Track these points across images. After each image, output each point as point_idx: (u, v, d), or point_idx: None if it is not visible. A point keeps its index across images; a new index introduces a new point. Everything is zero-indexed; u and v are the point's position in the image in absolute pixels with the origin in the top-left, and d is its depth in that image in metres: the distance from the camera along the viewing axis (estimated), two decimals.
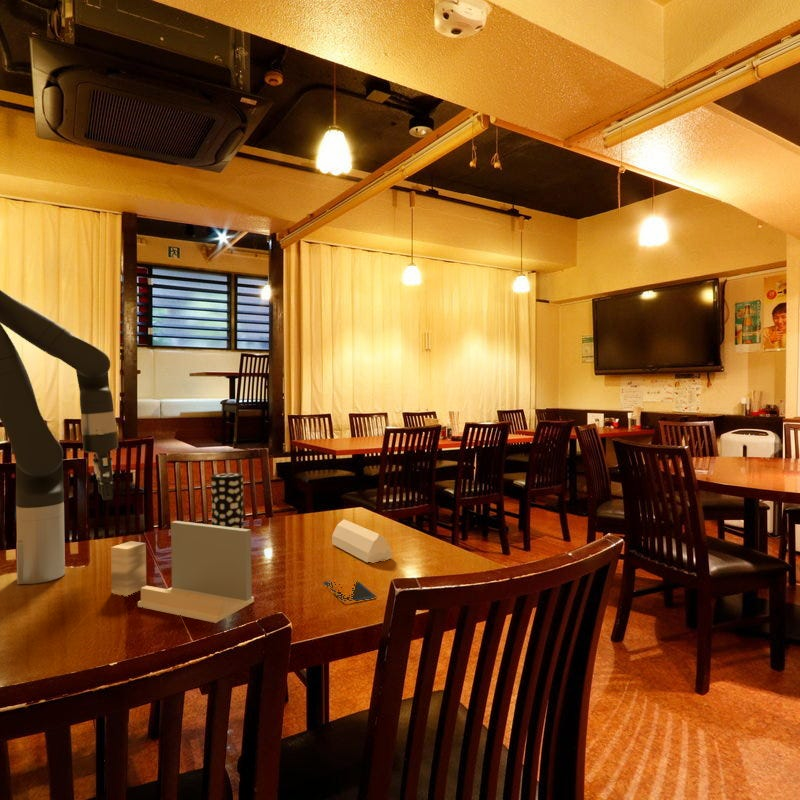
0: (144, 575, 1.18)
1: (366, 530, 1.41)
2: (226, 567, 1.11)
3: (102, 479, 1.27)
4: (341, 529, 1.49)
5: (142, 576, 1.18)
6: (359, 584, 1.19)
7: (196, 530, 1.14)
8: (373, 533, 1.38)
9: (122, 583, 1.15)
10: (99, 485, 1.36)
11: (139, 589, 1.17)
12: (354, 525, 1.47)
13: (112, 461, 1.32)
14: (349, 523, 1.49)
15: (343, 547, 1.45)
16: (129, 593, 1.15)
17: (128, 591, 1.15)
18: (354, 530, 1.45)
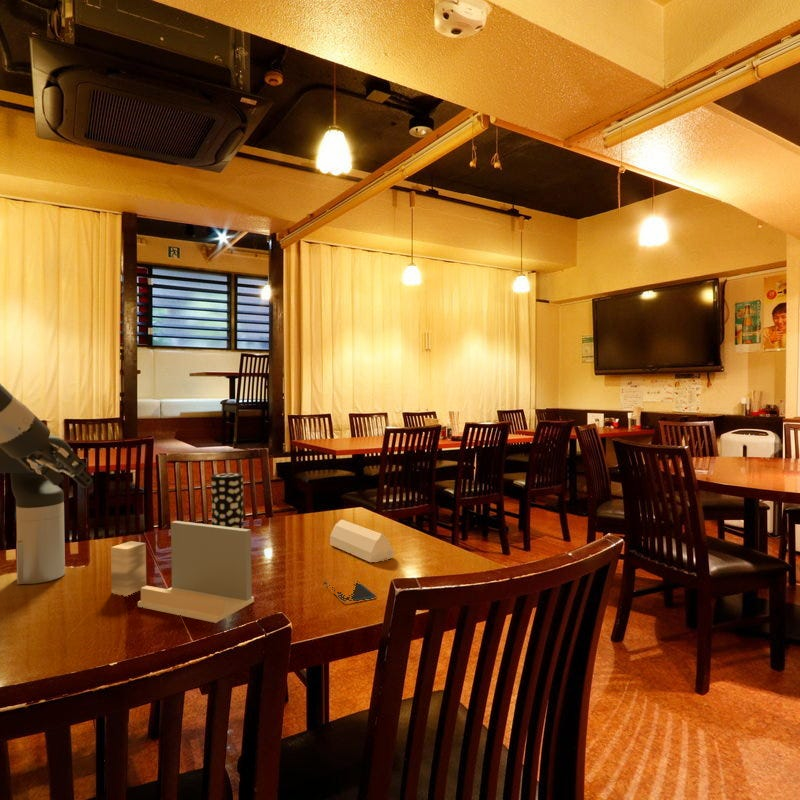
0: (144, 575, 1.18)
1: (367, 530, 1.41)
2: (226, 567, 1.11)
3: (76, 471, 0.99)
4: (340, 529, 1.49)
5: (142, 576, 1.18)
6: (359, 584, 1.19)
7: (196, 530, 1.14)
8: (375, 533, 1.39)
9: (122, 583, 1.15)
10: (49, 477, 1.05)
11: (139, 589, 1.17)
12: (353, 525, 1.47)
13: (58, 446, 1.01)
14: (348, 523, 1.49)
15: (342, 548, 1.45)
16: (129, 593, 1.15)
17: (128, 591, 1.15)
18: (354, 531, 1.45)
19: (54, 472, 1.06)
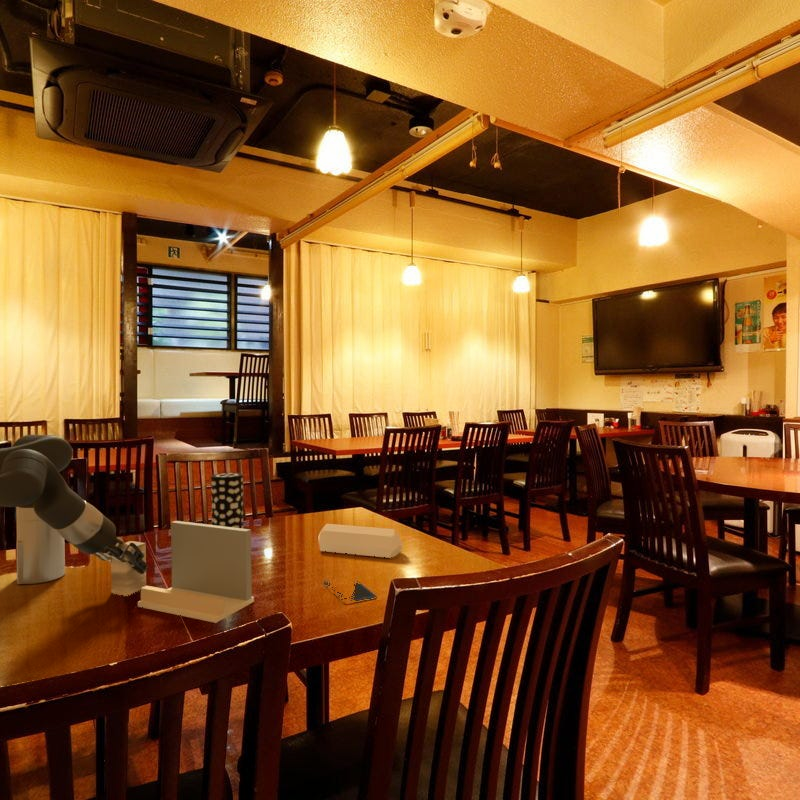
0: (144, 575, 1.18)
1: (372, 528, 1.43)
2: (226, 567, 1.11)
3: (136, 563, 1.13)
4: (332, 533, 1.45)
5: (142, 576, 1.18)
6: (359, 584, 1.19)
7: (196, 530, 1.14)
8: (385, 529, 1.42)
9: (122, 583, 1.15)
10: None
11: (139, 589, 1.17)
12: (349, 527, 1.45)
13: None
14: (339, 526, 1.46)
15: (342, 551, 1.42)
16: (129, 593, 1.15)
17: (128, 591, 1.15)
18: (354, 532, 1.43)
19: None
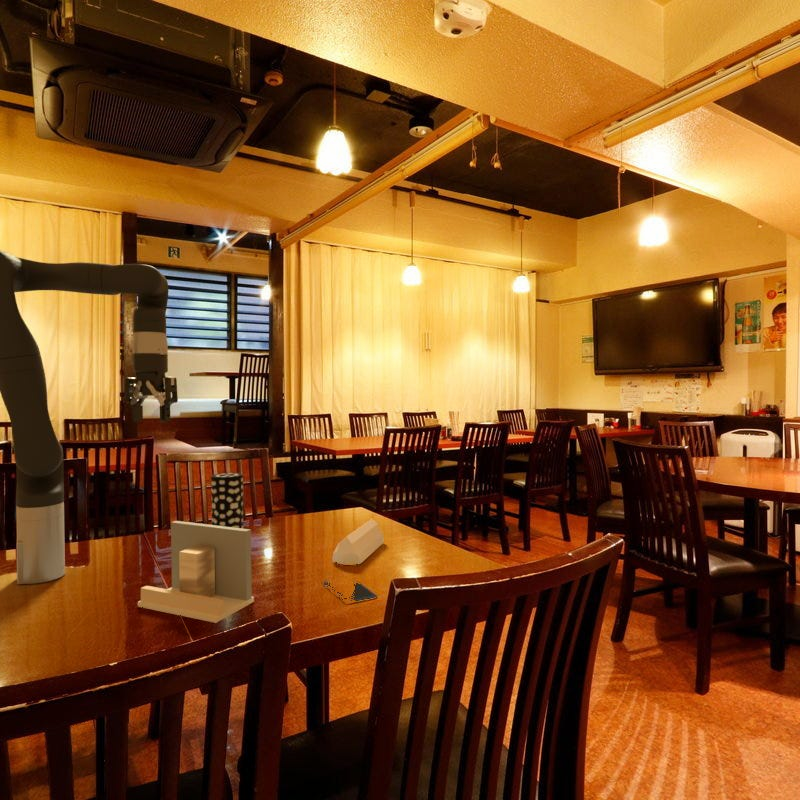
0: (213, 581, 1.11)
1: (365, 524, 1.47)
2: (226, 567, 1.11)
3: (170, 398, 1.24)
4: (357, 542, 1.36)
5: (211, 582, 1.11)
6: (359, 584, 1.19)
7: (196, 530, 1.14)
8: (369, 521, 1.51)
9: (191, 590, 1.07)
10: (135, 411, 1.28)
11: (208, 596, 1.10)
12: (357, 530, 1.41)
13: None
14: (353, 533, 1.38)
15: (368, 553, 1.40)
16: None
17: None
18: (363, 532, 1.43)
19: (140, 410, 1.30)
